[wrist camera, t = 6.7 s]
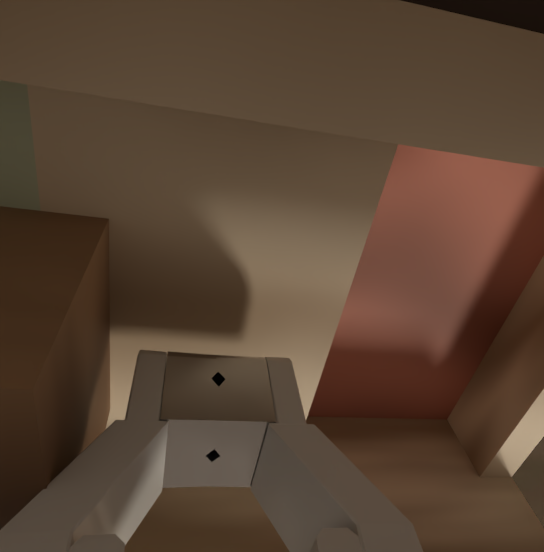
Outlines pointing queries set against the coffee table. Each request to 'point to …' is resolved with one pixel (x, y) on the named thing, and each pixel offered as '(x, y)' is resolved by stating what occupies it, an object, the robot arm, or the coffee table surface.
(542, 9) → the coffee table surface
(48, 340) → the walnut block
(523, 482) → the coffee table surface
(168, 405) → the robot arm
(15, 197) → the box
